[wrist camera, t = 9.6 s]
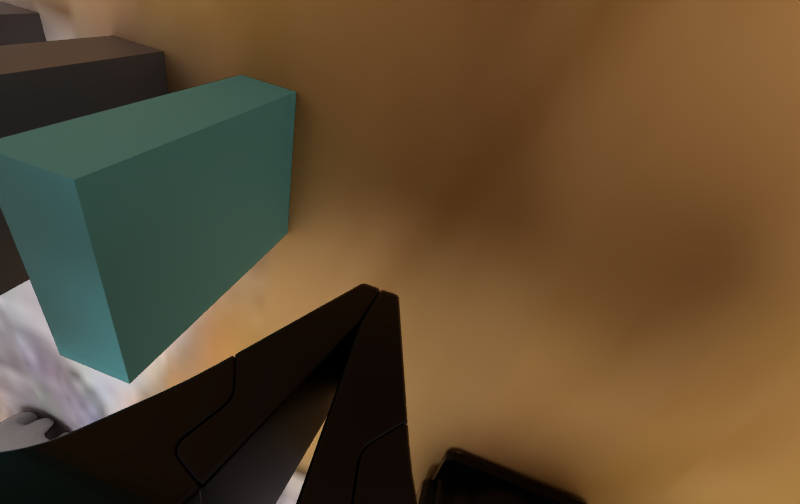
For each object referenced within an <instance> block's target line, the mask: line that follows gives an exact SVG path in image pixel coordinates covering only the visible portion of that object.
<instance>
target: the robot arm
mask: <svg viewBox="0 0 800 504" xmlns="http://www.w3.org/2000/svg"><path fill="white" fill-rule="evenodd" d="M326 417H327V418H326ZM325 419H326V421H325ZM324 421H325V423H324V426H323V429H322V432H321V435H320V438H319V440H318V443H317V446H316V449H315V452H314V455H313V457H312V460H311V463H310V466H309V469H308V472H307V474H306V477H305V480H304V483H303V486H302V489H301V492H300V494H299V497H298V500H297V503H296V504H585V503H583V502H581V501H579V500H576V499H574V498H571V497H569V496H566V495H564V494H561V493H559V492H556V491H554V490H551V489H549V488H546V487H544V486H541V485H539V484H536V483H533V482H531V481H528V480H526V479H523V478H521V477H518V476H516V475H513V474H511V473H508V472H506V471H503V470H501V469H498V468H496V467H493V466H491V465H488V464H485V463H483V462H480V461H478V460H475V459H473V458H470V457H468V456H465V455H463V454H460V453H457V452H447V453H446V454H445V455H444V457H443V459H442V461H441V463H440V465H439V466H438V468H437V470H436V472H435V474H434V476H433V478H432V479H431V478H427V479H425V480H423V482H422V484H421V486H420V488H419V490H418V492H417V494H416V492H415V486H414V480H413V474H412V465H411V456H410V447H409V434H408V425H407V408H406V394H405V379H404V365H403V350H402V336H401V322H400V307H399V297H398V296H397V295H396V294H393V293H390V292H387V291H385V290H382V291H380V290H379V289H378V288H376V287H373V286H371V285H368V284H360V285H358V286H357V287H355V288H353V289H351V290H350V291H348V292H346V293H344V294H342V295H341V296H339V297H337V298H335V299H333V300H332V301H330V302H328V303H326V304H324V305H323V306H321V307H319V308H317V309H316V310H314V311H312V312H310V313H308V314H307V315H305V316H303V317H301V318H299V319H298V320H296V321H294V322H292V323H290V324H289V325H287V326H285V327H283V328H282V329H280V330H278V331H276V332H274V333H273V334H271V335H269V336H267V337H265V338H264V339H262V340H260V341H258V342H256V343H255V344H253V345H251V346H249V347H248V348H246V349H244V350H242V351H240V352H239V353H237V354H236V355H235V357H234V356H231V357H229V358H228V359H226V360H224V361H222V362H220V363H219V364H217V365H215V366H213V367H211V368H209V369H207V370H205V371H204V372H202V373H200V374H198V375H196V376H194V377H192V378H190V379H188V380H186V381H184V382H182V383H180V384H178V385H176V386H173V387H171V388H169V389H167V390H165V391H163V392H161V393H159V394H156V395H154V396H152V397H150V398H147V399H145V400H143V401H141V402H138V403H136V404H134V405H132V406H129V407H127V408H125V409H123V410H120V411H118V412H116V413H114V414H111V415H109V416H107V417H105V418H102V419H100V420H98V421H96V422H93V423H91V424H89V425H87V426H84V427H82V428H80V429H78V430H75V431H73V432H70V433H68V434H66V435H63V436H61V437H58V438H55V439H52V440H49V441H46V442H43V443H40V444H36V445H32V446H29V447H24V448H20V449H15V450H9V451H2V452H0V504H276V502H277V501H278V499H279V497H280V495H281V494H282V492H283V490H284V489H285V487H286V485H287V484H288V482H289V480H290V478H291V477H292V475H293V473H294V472H295V470H296V468H297V466H298V465H299V463H300V461H301V460H302V458H303V456H304V455H305V453H306V451H307V449H308V448H309V446H310V444H311V443H312V441H313V439H314V438H315V436H316V434H317V432H318V431H319V429H320V427H321V426H322V424H323V422H324Z"/></svg>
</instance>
